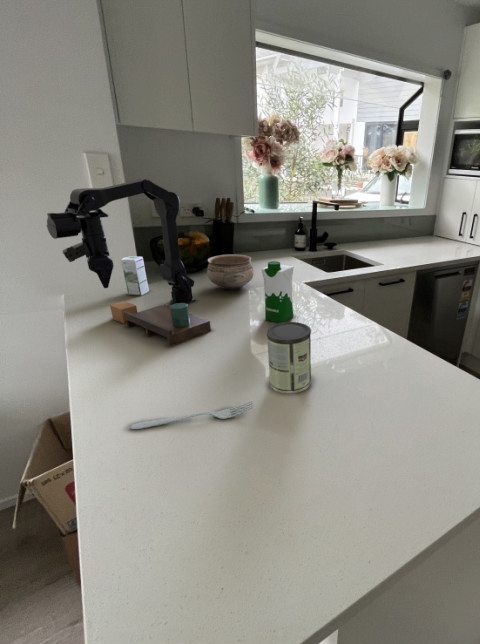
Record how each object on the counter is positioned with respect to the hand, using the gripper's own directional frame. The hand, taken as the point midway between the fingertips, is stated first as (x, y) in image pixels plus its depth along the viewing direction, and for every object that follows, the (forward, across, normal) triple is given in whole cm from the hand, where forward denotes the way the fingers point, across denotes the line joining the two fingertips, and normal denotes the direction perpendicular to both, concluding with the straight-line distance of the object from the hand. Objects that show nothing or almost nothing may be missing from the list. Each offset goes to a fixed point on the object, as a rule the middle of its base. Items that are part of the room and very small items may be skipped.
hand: (105, 284), depth 118 cm
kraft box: (+13, -2, +4) cm, 14 cm away
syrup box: (+14, -28, +11) cm, 33 cm away
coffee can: (+14, +62, +33) cm, 72 cm away
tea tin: (+10, +20, +17) cm, 28 cm away
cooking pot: (+14, -18, +46) cm, 51 cm away
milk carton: (+14, +23, +48) cm, 55 cm away
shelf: (+13, +14, +14) cm, 24 cm away
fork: (+13, +64, +10) cm, 67 cm away
